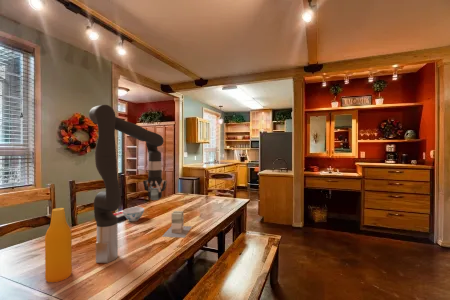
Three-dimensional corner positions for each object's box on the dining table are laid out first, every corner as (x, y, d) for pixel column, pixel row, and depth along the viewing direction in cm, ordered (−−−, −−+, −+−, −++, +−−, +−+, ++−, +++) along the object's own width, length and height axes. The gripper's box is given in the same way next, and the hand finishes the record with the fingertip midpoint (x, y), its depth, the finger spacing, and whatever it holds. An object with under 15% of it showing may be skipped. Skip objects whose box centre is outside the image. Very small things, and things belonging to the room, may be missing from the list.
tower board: (184, 240, 136) (184, 237, 136) (161, 239, 137) (161, 236, 137) (191, 228, 155) (191, 226, 155) (171, 227, 156) (171, 225, 156)
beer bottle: (54, 285, 92) (53, 213, 91) (40, 280, 95) (39, 210, 95) (77, 273, 100) (76, 207, 100) (62, 269, 104) (62, 205, 103)
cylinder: (157, 200, 131) (157, 189, 131) (149, 200, 131) (149, 189, 131) (160, 198, 136) (160, 188, 136) (152, 198, 136) (152, 188, 136)
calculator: (131, 212, 180) (116, 217, 166) (131, 218, 180) (116, 223, 166) (120, 211, 184) (104, 215, 170) (120, 216, 184) (104, 221, 170)
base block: (180, 233, 143) (180, 223, 143) (171, 232, 143) (171, 223, 143) (183, 229, 149) (183, 220, 149) (174, 229, 149) (174, 220, 149)
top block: (180, 223, 143) (180, 214, 143) (171, 223, 143) (171, 213, 143) (183, 220, 149) (183, 211, 149) (174, 220, 149) (174, 211, 149)
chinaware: (120, 219, 174) (120, 209, 174) (140, 215, 183) (140, 206, 183) (126, 224, 162) (126, 213, 162) (147, 220, 172) (147, 210, 172)
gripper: (140, 169, 130) (140, 199, 130) (164, 169, 129) (164, 199, 129) (145, 168, 138) (146, 196, 138) (169, 168, 136) (169, 196, 137)
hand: (155, 197), depth 134 cm, fingers closed on cylinder, 5 cm apart
